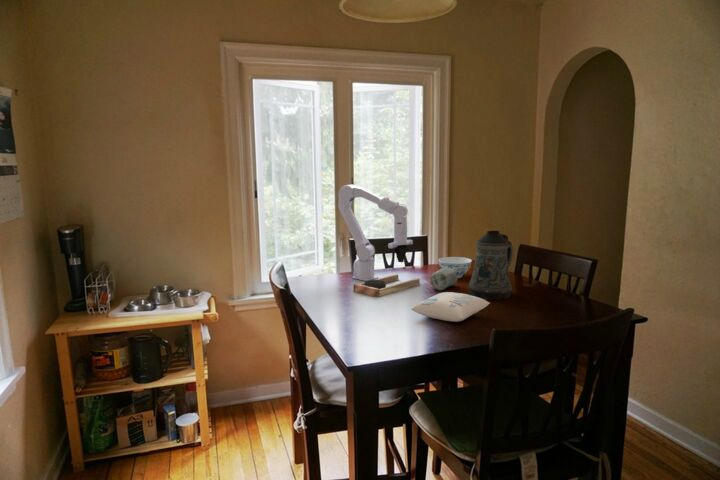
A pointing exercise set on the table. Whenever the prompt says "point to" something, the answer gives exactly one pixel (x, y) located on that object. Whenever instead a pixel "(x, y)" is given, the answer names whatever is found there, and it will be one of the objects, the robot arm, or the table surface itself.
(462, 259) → the chinaware
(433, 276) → the streaked ceramic egg
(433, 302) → the pouch
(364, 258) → the robot arm
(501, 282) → the beer stein
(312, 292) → the table surface
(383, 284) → the smart speaker
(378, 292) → the guide track
